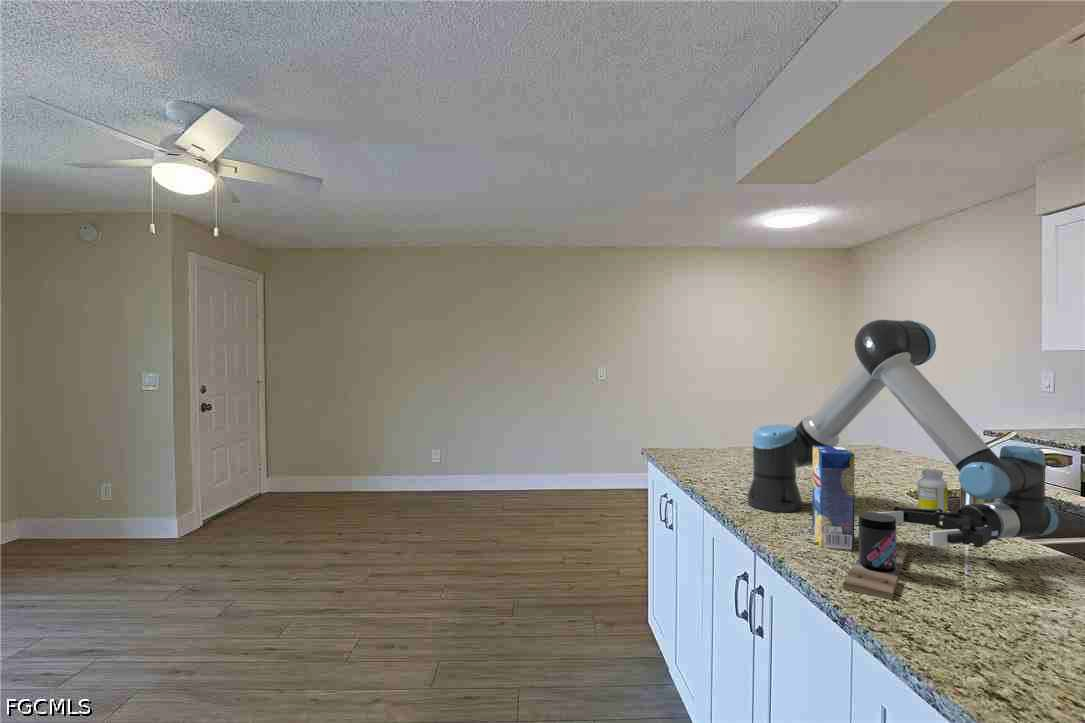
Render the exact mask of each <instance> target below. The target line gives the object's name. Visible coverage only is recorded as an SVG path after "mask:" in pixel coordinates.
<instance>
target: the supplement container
mask: <svg viewBox="0 0 1085 723" xmlns="http://www.w3.org/2000/svg"><path fill="white" fill-rule="evenodd" d="M896 549H897V524H896V518H895V517H893V516H890V515H886V514H881V513H876V512H868V511H867V512H861V513H858V555H859V563H860V564H861V566H862V567H864V568H866V569H868V570H872V571H876V572H892V571H894V570H895V569H896Z"/></svg>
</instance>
